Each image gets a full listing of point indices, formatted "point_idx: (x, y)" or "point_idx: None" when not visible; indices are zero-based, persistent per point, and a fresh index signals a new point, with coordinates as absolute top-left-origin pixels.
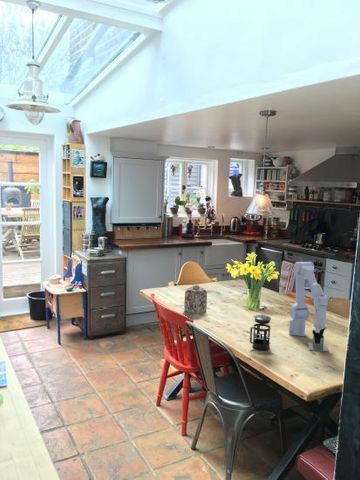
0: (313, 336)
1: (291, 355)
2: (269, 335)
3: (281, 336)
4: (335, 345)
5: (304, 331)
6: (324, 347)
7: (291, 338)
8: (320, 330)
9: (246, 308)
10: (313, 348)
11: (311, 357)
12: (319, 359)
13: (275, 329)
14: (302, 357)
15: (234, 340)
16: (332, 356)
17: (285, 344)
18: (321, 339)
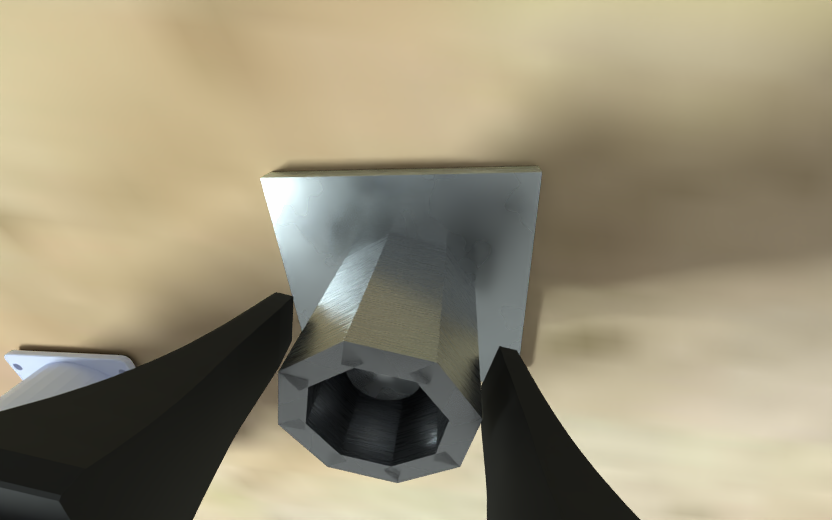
0: (407, 472)
1: (660, 495)
2: None
3: (260, 494)
4: (184, 17)
5: (64, 392)
6: (408, 220)
7: (261, 450)
8: (188, 457)
9: None
10: (485, 345)
11: (718, 374)
12: (793, 308)
13: None
14: (713, 439)
15: None
16: (693, 125)
17: (418, 495)
18: (463, 368)
